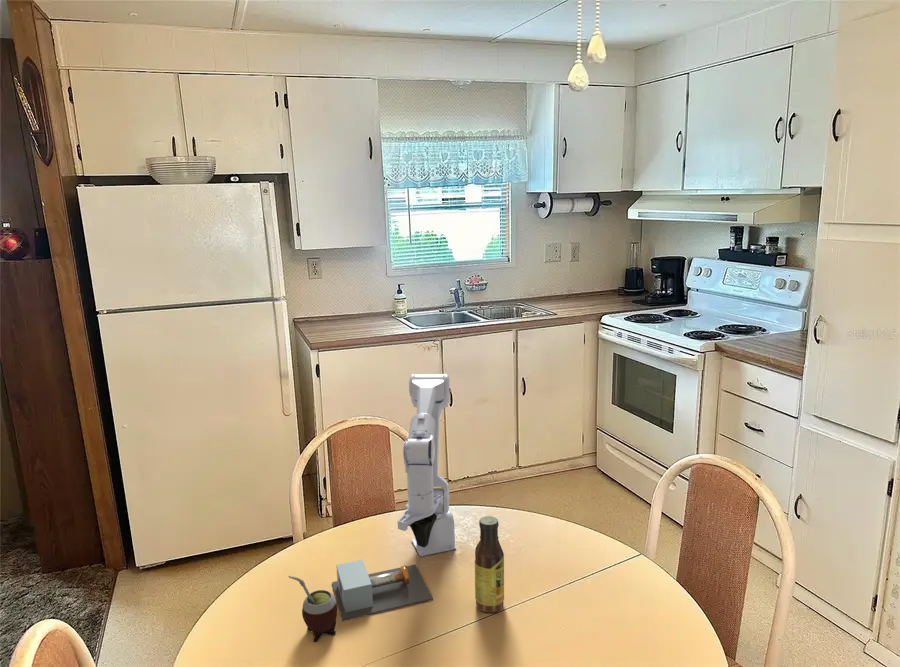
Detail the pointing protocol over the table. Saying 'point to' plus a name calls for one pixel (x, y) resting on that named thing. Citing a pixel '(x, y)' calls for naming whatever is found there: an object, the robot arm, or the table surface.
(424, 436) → the robot arm
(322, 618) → the mate gourd
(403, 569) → the pin
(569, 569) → the table surface
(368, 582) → the block
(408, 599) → the mat
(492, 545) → the sauce bottle
